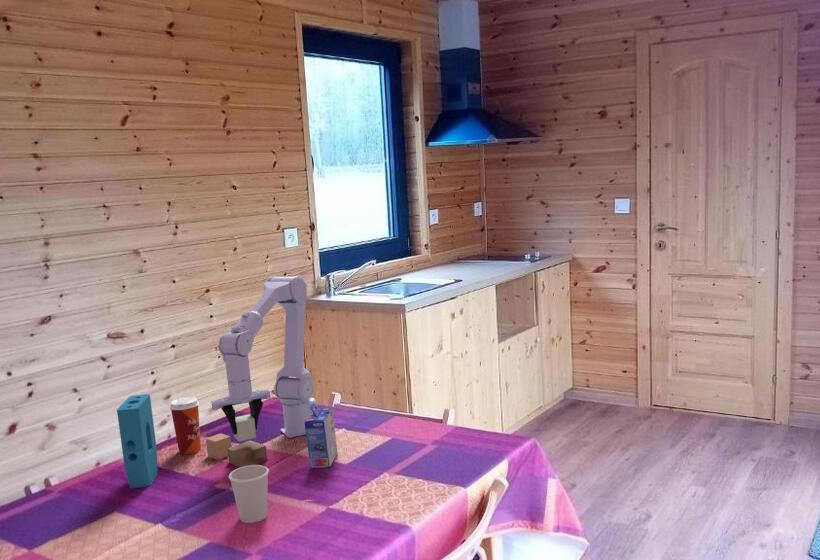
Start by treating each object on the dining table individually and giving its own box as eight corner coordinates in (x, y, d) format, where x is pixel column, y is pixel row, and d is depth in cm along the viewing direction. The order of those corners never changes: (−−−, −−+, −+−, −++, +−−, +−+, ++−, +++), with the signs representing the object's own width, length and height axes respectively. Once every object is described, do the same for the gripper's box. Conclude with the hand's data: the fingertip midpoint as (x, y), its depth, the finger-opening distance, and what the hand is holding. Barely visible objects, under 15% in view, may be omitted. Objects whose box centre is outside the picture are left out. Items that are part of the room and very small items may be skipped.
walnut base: (252, 454, 202) (250, 440, 201) (267, 460, 197) (265, 445, 196) (229, 463, 197) (227, 448, 196) (244, 469, 192) (242, 454, 191)
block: (148, 489, 183) (137, 408, 180) (126, 491, 183) (115, 410, 180) (160, 470, 195) (150, 393, 192) (140, 471, 195) (130, 395, 192)
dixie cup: (256, 505, 170) (251, 462, 168) (281, 513, 164) (276, 469, 163) (225, 520, 163) (220, 475, 162) (250, 529, 158) (245, 483, 157)
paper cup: (199, 455, 204) (193, 404, 202) (171, 456, 204) (164, 406, 202) (208, 444, 211) (202, 395, 209) (180, 446, 212) (174, 397, 210)
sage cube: (251, 432, 199) (249, 414, 198) (256, 437, 195) (254, 418, 194) (234, 436, 197) (232, 417, 196) (238, 441, 193) (236, 422, 192)
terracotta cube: (222, 451, 206) (220, 433, 205) (232, 454, 202) (230, 436, 202) (208, 456, 202) (205, 438, 202) (217, 460, 199) (215, 441, 199)
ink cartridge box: (317, 453, 198) (311, 399, 196) (338, 452, 198) (333, 398, 196) (308, 468, 189) (302, 411, 187) (330, 467, 188) (325, 410, 186)
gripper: (213, 388, 187) (220, 441, 189) (271, 377, 193) (277, 428, 195) (207, 382, 193) (213, 434, 195) (263, 371, 199) (268, 421, 201)
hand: (244, 431), depth 196 cm, fingers closed on sage cube, 4 cm apart
